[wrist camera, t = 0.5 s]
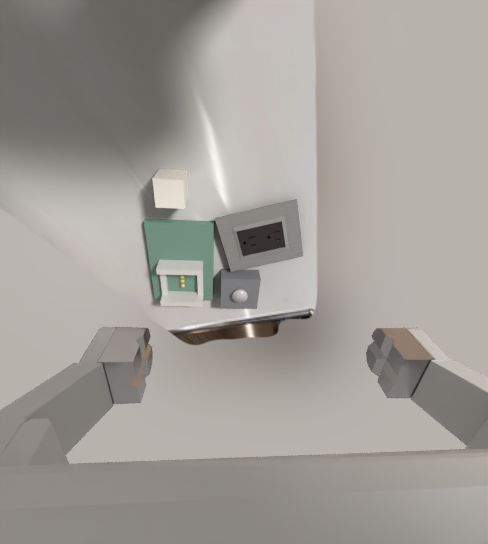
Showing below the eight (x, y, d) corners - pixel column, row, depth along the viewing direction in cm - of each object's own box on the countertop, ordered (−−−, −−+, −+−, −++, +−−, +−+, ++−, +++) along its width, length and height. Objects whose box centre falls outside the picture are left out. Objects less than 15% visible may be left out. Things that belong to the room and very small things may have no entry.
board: (145, 218, 44) (138, 230, 41) (213, 221, 45) (213, 233, 42) (155, 295, 53) (151, 310, 50) (212, 296, 55) (212, 310, 51)
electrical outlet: (230, 265, 51) (230, 272, 49) (215, 213, 45) (214, 219, 43) (300, 250, 50) (303, 256, 48) (294, 195, 44) (297, 200, 42)
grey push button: (221, 269, 51) (221, 281, 48) (258, 270, 52) (261, 282, 49) (220, 298, 55) (220, 311, 52) (255, 298, 56) (257, 311, 53)
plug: (159, 168, 40) (152, 178, 36) (187, 170, 41) (183, 180, 36) (162, 198, 43) (156, 211, 39) (188, 200, 43) (184, 212, 39)
